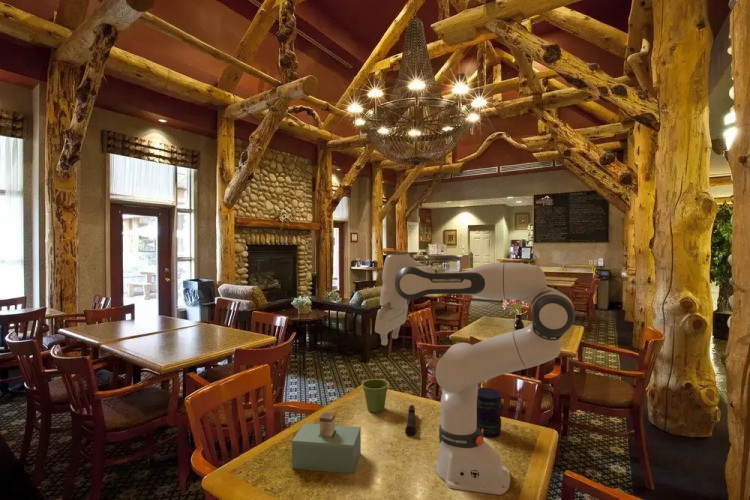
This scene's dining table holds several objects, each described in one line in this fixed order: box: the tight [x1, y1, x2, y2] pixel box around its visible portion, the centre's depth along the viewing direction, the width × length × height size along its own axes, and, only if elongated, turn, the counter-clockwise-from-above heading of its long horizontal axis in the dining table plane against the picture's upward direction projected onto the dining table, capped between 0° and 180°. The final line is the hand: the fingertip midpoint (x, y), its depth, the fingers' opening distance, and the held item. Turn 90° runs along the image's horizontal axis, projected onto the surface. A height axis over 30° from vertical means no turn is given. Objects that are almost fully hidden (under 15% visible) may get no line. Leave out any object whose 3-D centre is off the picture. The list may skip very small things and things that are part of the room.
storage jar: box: [477, 387, 502, 439], centre depth 147 cm, size 10×10×15 cm
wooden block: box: [319, 412, 336, 438], centre depth 128 cm, size 4×4×10 cm
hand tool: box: [404, 404, 417, 437], centre depth 153 cm, size 19×4×5 cm, turn 170°
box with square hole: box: [291, 422, 362, 475], centre depth 128 cm, size 20×12×9 cm, turn 81°
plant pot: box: [361, 378, 390, 414], centre depth 167 cm, size 12×12×11 cm
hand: (389, 341), depth 130 cm, fingers open, 8 cm apart
